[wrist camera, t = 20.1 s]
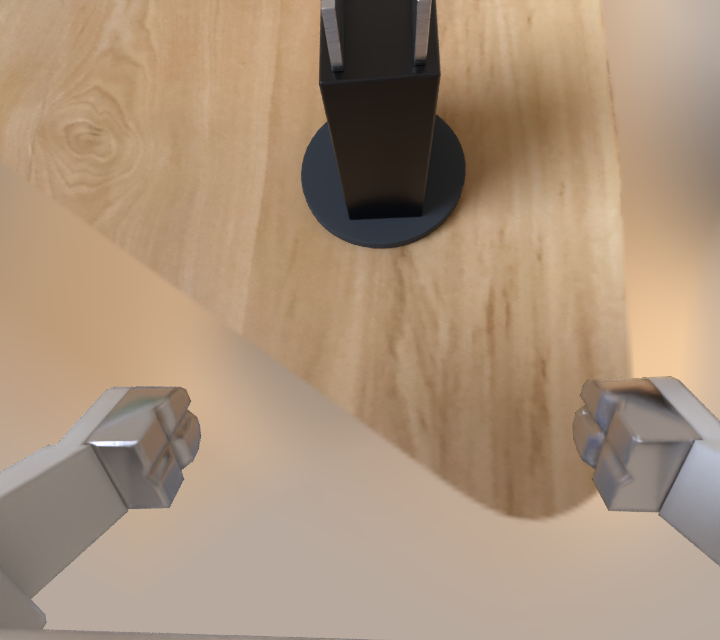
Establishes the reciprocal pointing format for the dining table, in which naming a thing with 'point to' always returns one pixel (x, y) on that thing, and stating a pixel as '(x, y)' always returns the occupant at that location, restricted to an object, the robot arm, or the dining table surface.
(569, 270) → the dining table surface
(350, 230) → the coaster
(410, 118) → the clip
